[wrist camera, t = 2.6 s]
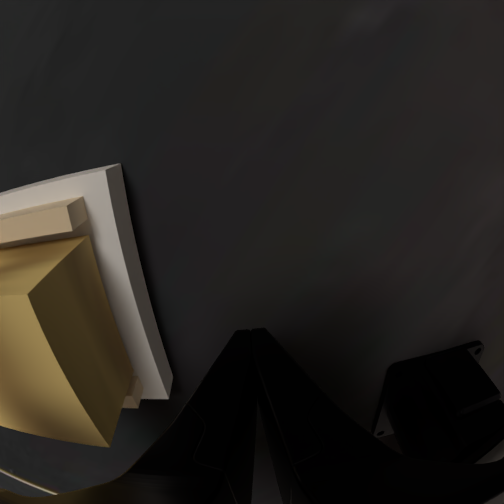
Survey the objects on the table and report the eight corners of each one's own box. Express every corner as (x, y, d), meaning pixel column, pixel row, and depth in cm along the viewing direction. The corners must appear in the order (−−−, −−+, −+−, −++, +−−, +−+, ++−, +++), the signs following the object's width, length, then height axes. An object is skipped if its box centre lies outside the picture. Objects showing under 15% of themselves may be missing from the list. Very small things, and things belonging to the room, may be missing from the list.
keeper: (88, 234, 10) (27, 294, 6) (133, 371, 12) (109, 447, 9) (-22, 252, 10) (-81, 298, 6) (28, 365, 12) (-7, 423, 8)
